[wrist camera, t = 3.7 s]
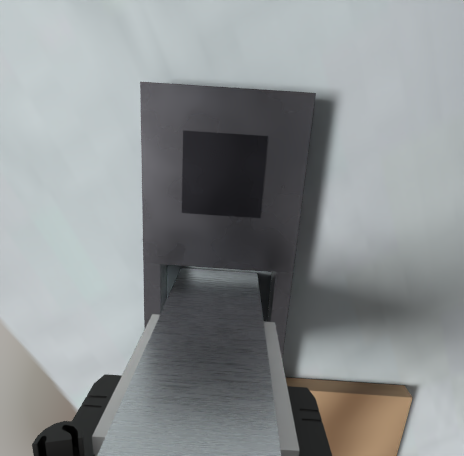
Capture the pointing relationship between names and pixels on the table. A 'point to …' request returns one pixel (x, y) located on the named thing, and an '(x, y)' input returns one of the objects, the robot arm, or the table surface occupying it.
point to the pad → (360, 415)
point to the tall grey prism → (201, 375)
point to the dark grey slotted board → (223, 184)
